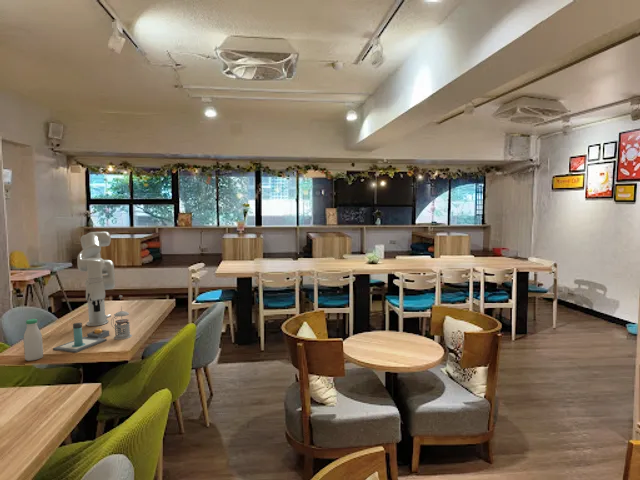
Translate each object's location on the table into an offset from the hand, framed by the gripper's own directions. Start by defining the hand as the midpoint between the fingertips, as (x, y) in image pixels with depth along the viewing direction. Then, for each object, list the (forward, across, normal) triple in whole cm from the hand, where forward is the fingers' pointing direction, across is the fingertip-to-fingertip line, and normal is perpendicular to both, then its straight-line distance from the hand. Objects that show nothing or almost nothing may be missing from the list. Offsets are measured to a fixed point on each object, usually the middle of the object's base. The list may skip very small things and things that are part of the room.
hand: (97, 311), depth 237 cm
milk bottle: (+16, +35, -5) cm, 39 cm away
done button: (+14, -1, -1) cm, 14 cm away
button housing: (+15, -1, -1) cm, 16 cm away
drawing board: (+16, +13, +1) cm, 21 cm away
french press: (+16, -5, +12) cm, 21 cm away
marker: (+15, +16, +3) cm, 22 cm away
